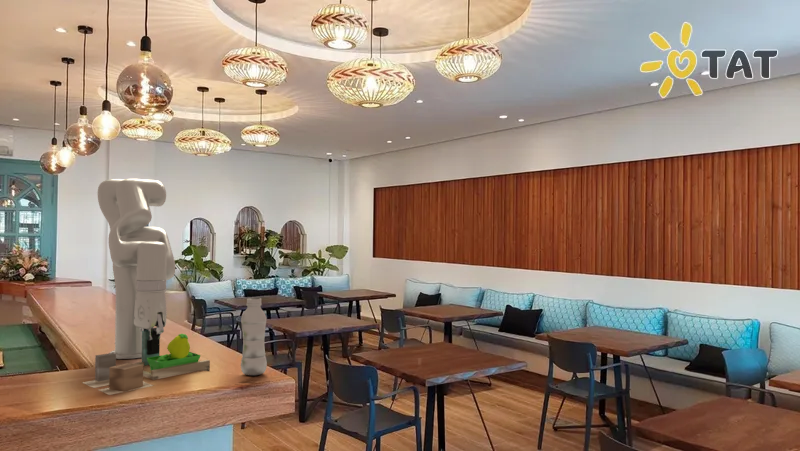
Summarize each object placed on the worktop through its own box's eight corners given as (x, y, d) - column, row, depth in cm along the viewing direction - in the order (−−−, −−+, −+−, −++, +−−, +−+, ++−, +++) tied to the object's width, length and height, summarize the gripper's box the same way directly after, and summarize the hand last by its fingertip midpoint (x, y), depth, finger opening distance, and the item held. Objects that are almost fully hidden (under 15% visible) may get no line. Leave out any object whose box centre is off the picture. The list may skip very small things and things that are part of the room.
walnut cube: (109, 389, 126) (109, 367, 126) (128, 383, 131) (128, 362, 131) (124, 391, 124) (124, 369, 124) (143, 386, 128) (143, 364, 129)
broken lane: (81, 387, 131) (82, 357, 132) (124, 379, 139) (124, 350, 139) (109, 400, 121) (109, 367, 122) (153, 390, 129) (153, 359, 129)
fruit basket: (186, 369, 150) (187, 328, 150) (204, 374, 144) (204, 331, 144) (145, 377, 141) (145, 333, 141) (162, 383, 135) (162, 337, 136)
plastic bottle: (260, 378, 140) (260, 300, 140) (235, 377, 141) (236, 299, 142) (270, 372, 146) (271, 297, 147) (247, 371, 148) (248, 296, 148)
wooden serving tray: (120, 371, 146) (120, 333, 146) (175, 361, 158) (175, 326, 158) (153, 383, 134) (153, 342, 134) (209, 371, 146) (210, 334, 146)
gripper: (124, 285, 154) (123, 351, 154) (151, 289, 144) (150, 359, 143) (151, 283, 160) (150, 347, 159) (178, 287, 149) (178, 355, 149)
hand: (150, 352), depth 151 cm, fingers closed on wooden serving tray, 2 cm apart
